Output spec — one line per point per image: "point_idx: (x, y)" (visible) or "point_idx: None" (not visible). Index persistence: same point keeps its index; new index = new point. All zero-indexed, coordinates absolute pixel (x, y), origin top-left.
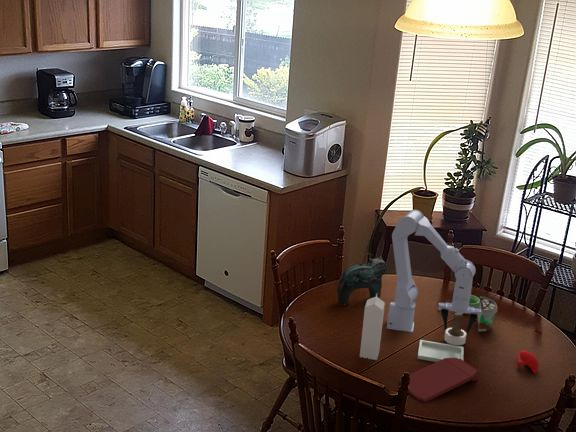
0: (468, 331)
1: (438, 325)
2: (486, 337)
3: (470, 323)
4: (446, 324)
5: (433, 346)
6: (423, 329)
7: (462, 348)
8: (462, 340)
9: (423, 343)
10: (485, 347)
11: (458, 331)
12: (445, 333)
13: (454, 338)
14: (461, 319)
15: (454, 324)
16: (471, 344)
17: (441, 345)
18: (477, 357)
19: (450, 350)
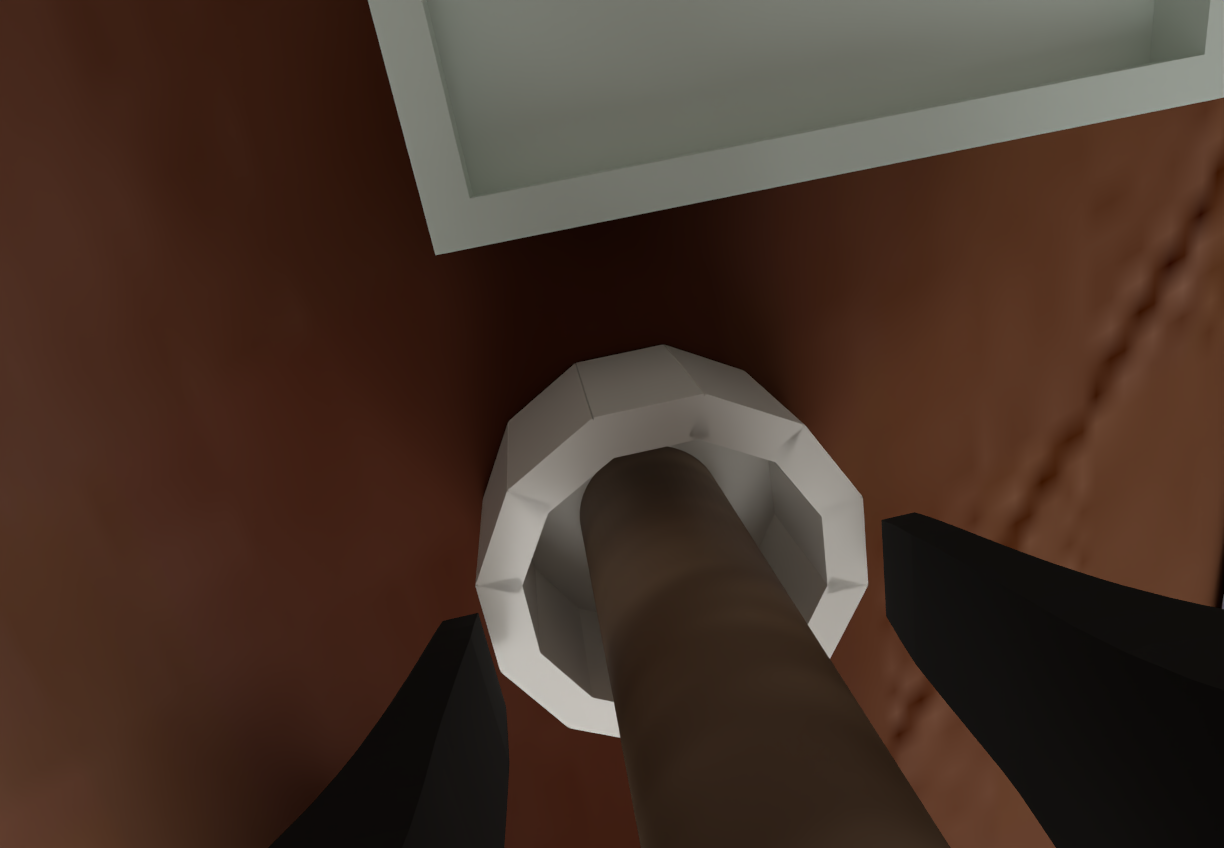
0: (431, 644)
1: (911, 766)
2: (265, 836)
3: (360, 815)
4: (976, 567)
5: (953, 87)
6: (1092, 574)
7: (440, 183)
8: (514, 457)
9: (1141, 63)
10: (164, 582)
11: (641, 568)
12: (849, 481)
13: (663, 391)
14: (686, 841)
15: (799, 643)
16: (389, 551)
17: (839, 124)
18: (142, 174)
19: (648, 102)
